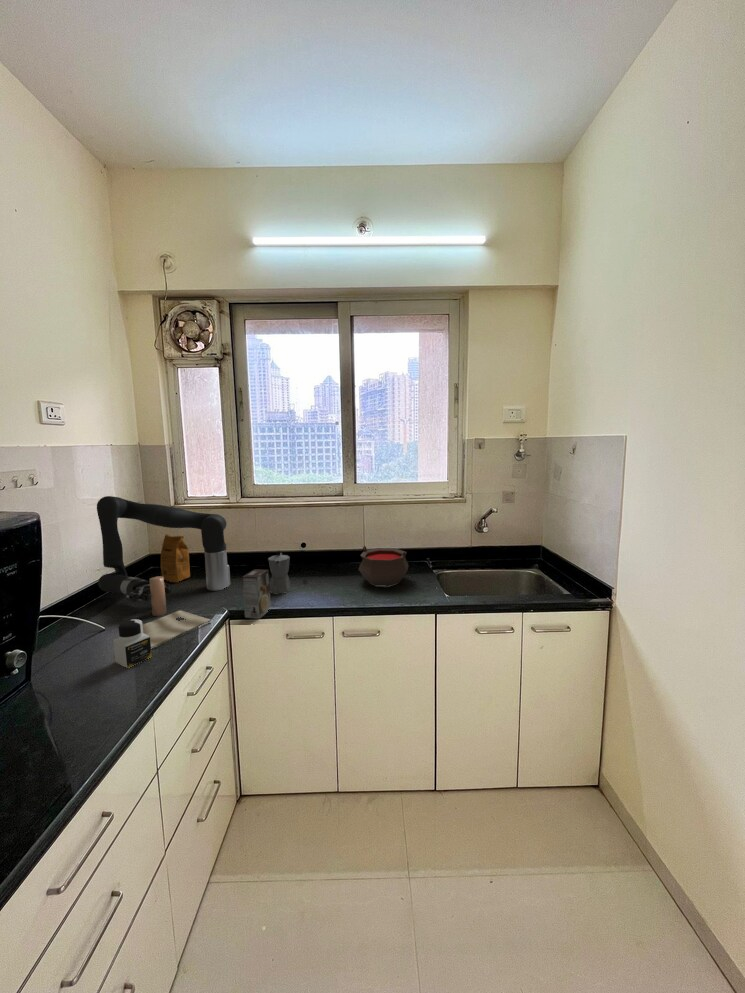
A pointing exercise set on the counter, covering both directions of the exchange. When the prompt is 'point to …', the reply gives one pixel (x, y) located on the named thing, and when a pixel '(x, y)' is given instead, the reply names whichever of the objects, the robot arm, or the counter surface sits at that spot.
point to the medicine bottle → (131, 644)
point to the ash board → (171, 626)
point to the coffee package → (174, 559)
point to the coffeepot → (279, 573)
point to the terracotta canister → (158, 596)
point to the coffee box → (256, 593)
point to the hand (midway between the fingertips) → (159, 594)
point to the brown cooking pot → (383, 565)
